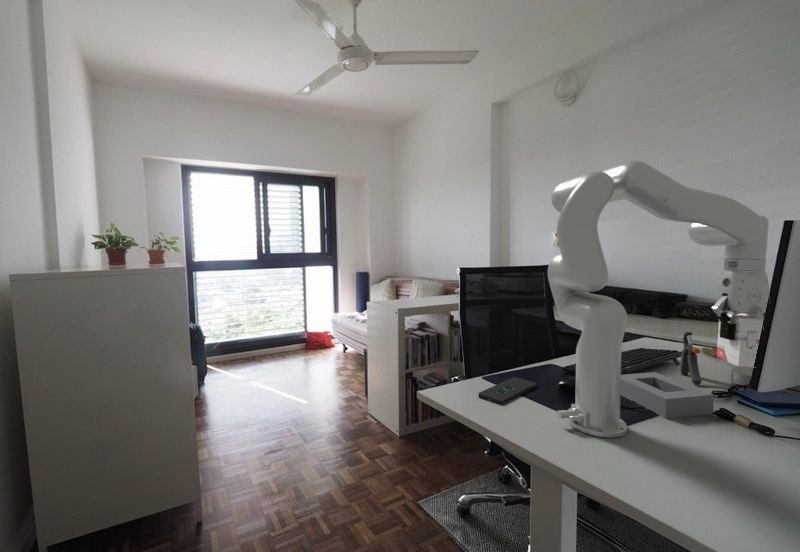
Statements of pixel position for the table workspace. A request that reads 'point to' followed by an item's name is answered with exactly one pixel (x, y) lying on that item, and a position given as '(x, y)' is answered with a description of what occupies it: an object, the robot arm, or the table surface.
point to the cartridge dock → (666, 395)
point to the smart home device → (507, 390)
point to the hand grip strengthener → (690, 359)
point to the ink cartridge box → (742, 340)
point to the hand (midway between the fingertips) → (739, 337)
